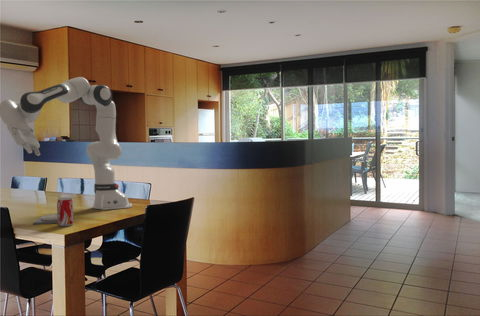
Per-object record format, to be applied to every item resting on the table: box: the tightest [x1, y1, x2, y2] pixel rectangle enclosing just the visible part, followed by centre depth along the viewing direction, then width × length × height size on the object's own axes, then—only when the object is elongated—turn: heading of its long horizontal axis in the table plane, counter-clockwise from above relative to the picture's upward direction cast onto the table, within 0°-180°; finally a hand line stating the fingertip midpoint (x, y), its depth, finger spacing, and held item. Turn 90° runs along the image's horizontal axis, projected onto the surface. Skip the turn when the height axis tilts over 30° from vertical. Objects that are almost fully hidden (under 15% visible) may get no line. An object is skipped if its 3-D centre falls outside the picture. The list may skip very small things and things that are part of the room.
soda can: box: [56, 197, 74, 228], centre depth 201 cm, size 7×7×13 cm
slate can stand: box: [33, 213, 58, 225], centre depth 212 cm, size 15×15×2 cm
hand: (34, 154), depth 205 cm, fingers open, 8 cm apart
